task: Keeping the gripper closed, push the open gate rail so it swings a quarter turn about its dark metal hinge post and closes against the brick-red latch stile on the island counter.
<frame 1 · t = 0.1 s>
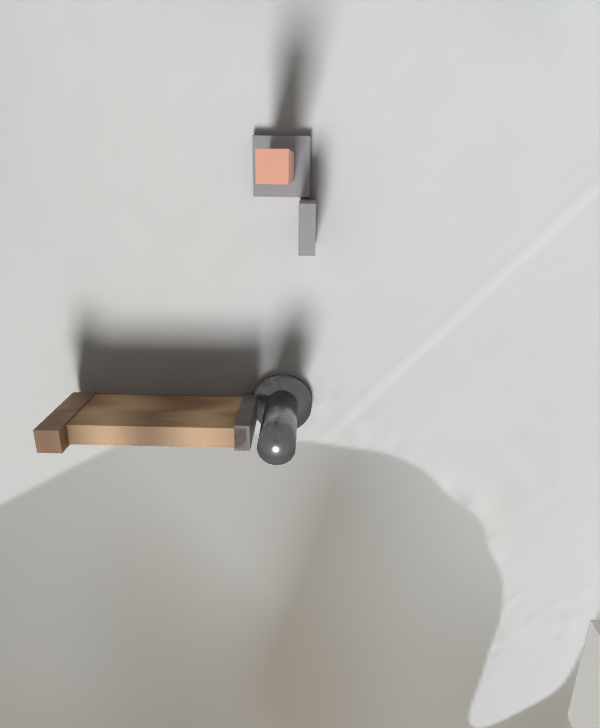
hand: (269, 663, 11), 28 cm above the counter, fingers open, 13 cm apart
latch stile: (282, 166, 34), on the counter
gate: (154, 422, 36), point 4 cm above the counter, hinge at 90.0°
hinge post: (282, 401, 40), on the counter
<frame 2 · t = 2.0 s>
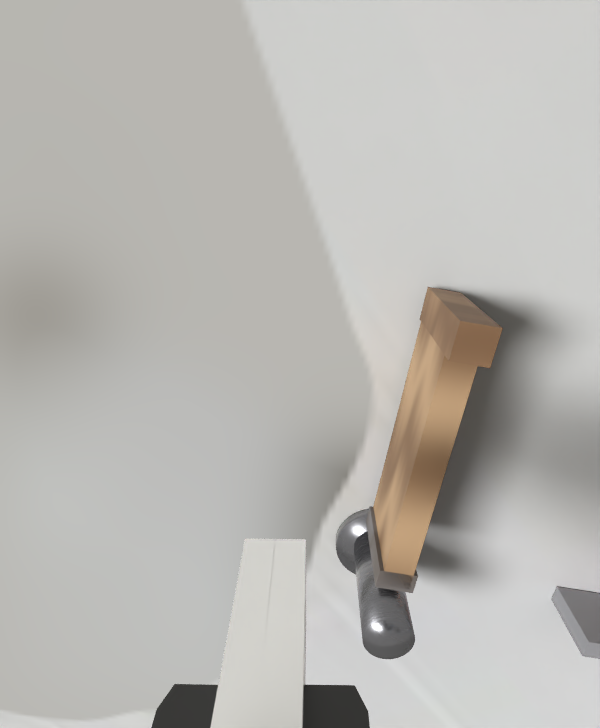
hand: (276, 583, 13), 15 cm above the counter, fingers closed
gate: (421, 444, 25), point 4 cm above the counter, hinge at 90.0°
hinge post: (373, 540, 31), on the counter
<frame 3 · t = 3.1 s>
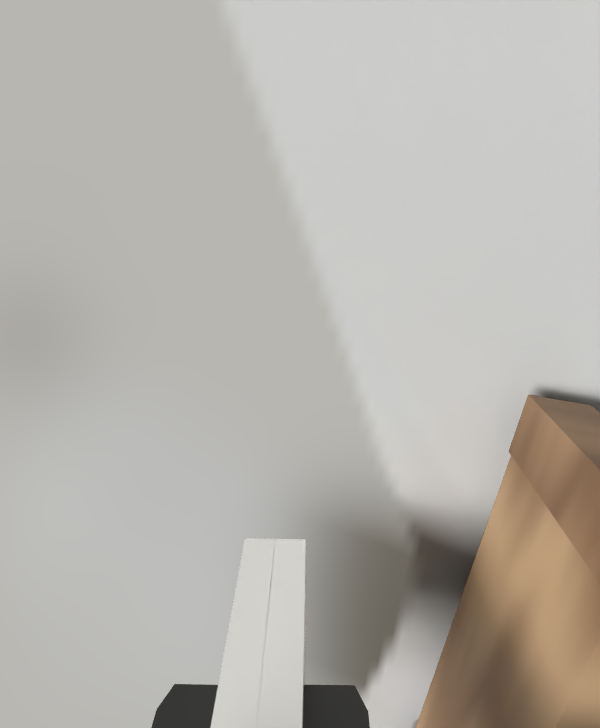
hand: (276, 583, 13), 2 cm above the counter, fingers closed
gate: (519, 708, 13), point 4 cm above the counter, hinge at 90.0°
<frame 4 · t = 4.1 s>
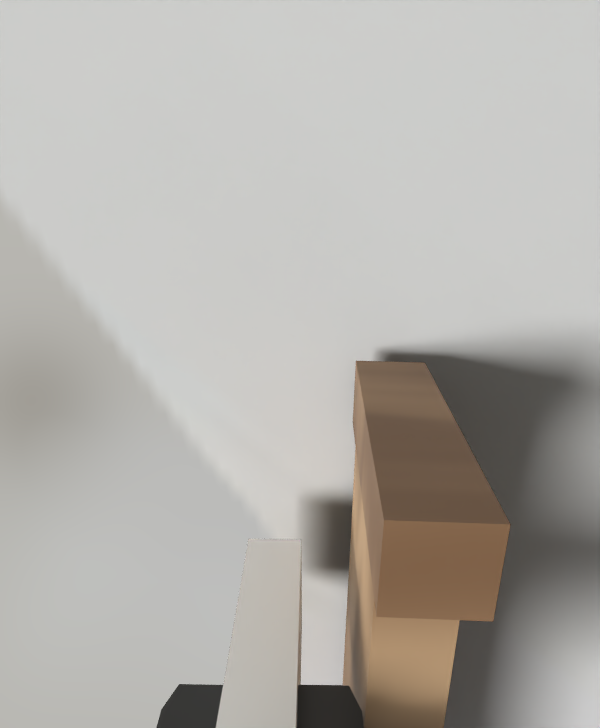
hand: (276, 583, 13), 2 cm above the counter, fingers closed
gate: (385, 689, 12), point 4 cm above the counter, hinge at 85.6°, touching gripper
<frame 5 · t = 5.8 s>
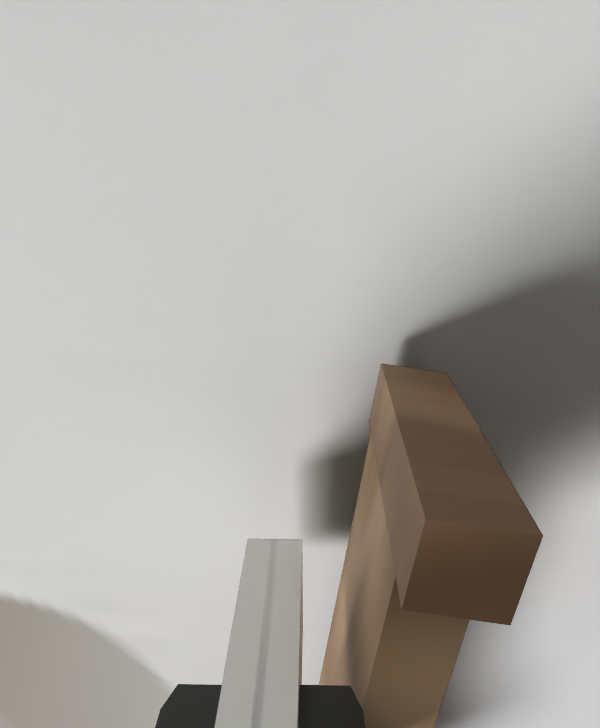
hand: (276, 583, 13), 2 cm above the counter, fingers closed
gate: (373, 682, 12), point 4 cm above the counter, hinge at 42.1°, touching gripper
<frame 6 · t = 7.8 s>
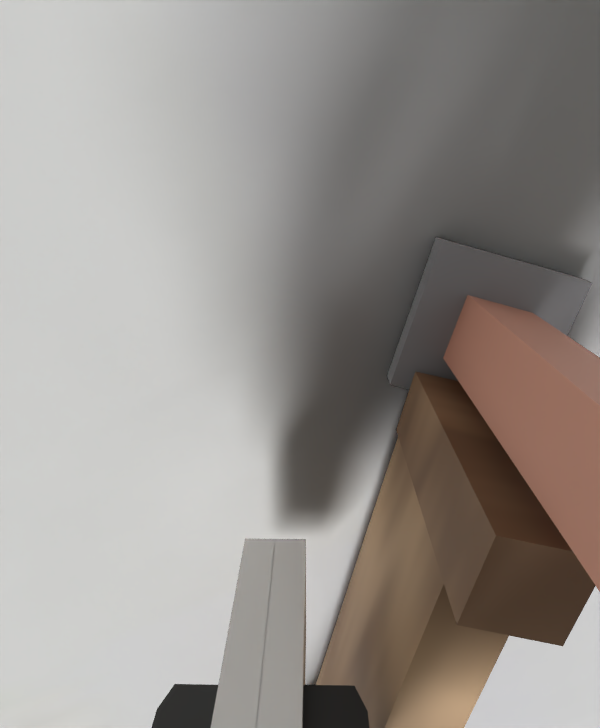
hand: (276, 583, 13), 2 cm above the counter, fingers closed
latch stile: (479, 328, 13), on the counter
gate: (384, 691, 12), point 4 cm above the counter, hinge at 2.2°
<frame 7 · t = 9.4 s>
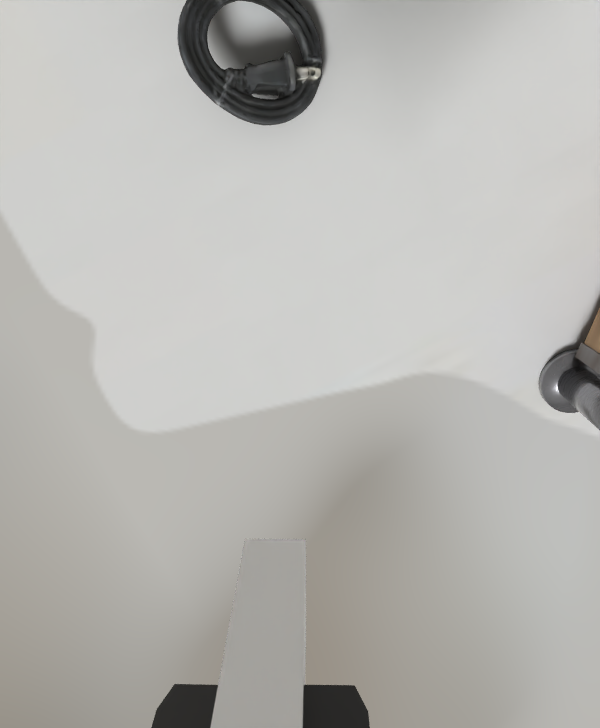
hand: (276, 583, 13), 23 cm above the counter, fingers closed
hinge post: (571, 379, 36), on the counter
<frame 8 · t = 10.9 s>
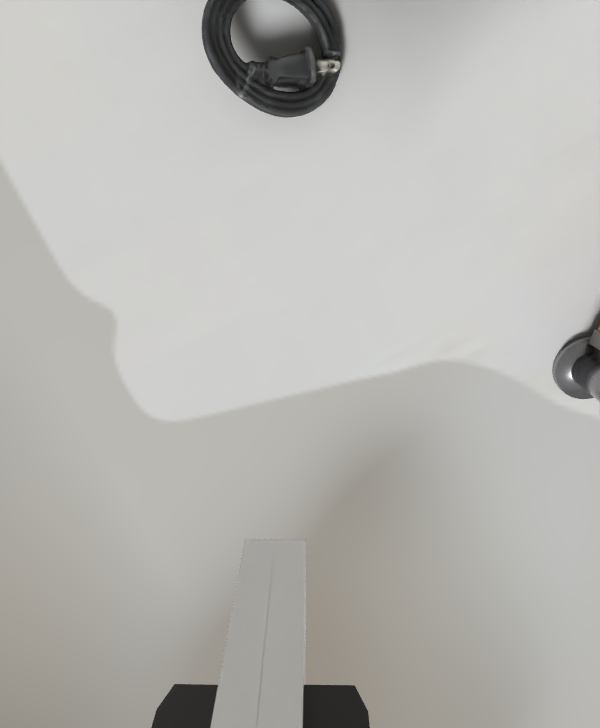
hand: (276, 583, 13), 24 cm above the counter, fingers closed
hinge post: (584, 366, 37), on the counter
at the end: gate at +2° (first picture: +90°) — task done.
